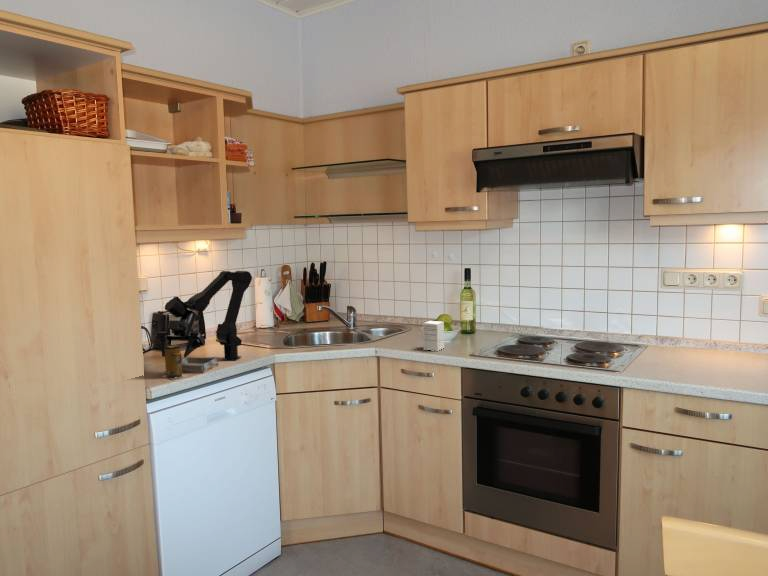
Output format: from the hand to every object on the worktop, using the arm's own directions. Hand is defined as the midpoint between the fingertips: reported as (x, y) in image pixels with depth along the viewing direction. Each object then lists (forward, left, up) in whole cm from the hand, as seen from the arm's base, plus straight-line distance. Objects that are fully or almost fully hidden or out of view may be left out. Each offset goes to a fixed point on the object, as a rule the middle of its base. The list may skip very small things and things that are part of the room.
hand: (173, 356), depth 243 cm
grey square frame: (-13, +2, -8) cm, 15 cm away
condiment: (0, 0, -8) cm, 8 cm away
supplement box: (-56, +96, -8) cm, 111 cm away
